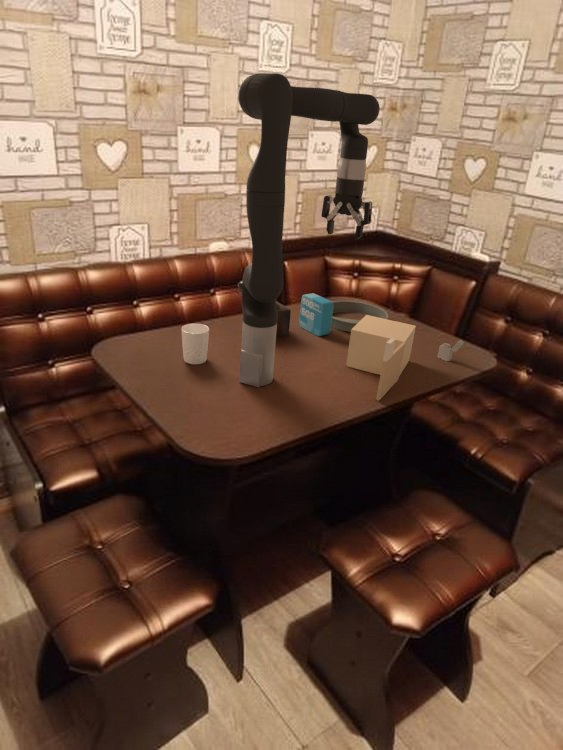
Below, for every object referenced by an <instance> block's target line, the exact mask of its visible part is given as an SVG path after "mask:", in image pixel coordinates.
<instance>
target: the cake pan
mask: <svg viewBox="0 0 563 750" xmlns="http://www.w3.org/2000/svg"><path fill="white" fill-rule="evenodd" d="M331 302H332V303H333V314H336V313H354V314H359V315H364V316H366V315H370V316H374V317H379V318H383V319H388V320H389V318H390V317H389V316H390V315H389V313H388V312H387V311H386V310H385V309H383V308H382V307H379V306H378V305H374V304H372V303H371V304H370V303H368V302H362V301H355V300H334V301H333V300H332V301H331ZM360 320H361V319H352V318H344V317H338V316H334V315H332V322H331V328H334V329H337V330H339V331H344V332H347V333H348V332H349V333H351V329H352V328H353V327H354V326H355V325H356V324H357V323H358V322H359V321H360Z"/></svg>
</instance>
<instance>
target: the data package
mask: <svg viewBox="0 0 563 750" xmlns="http://www.w3.org/2000/svg"><path fill="white" fill-rule="evenodd" d="M332 302H333V301H331V300H329V299H326V298H325V297H323V296H320V295H318V294H316V293H313V292H312V293H306V294H303V295H302V296H301V301H300V308H299V309H300V311H299V318H298V319H299V320H298V321H299V322H298V323H299V327H300V328H302V329H304V330H306V331H307V332H309V333H311V334H313V335H315V336H316V337H322V336H325V335H330V333H331V329H332V326H331V322H332V316H333V314H334V313H333V303H332Z"/></svg>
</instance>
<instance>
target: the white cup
mask: <svg viewBox="0 0 563 750" xmlns="http://www.w3.org/2000/svg"><path fill="white" fill-rule="evenodd" d="M209 334H210V327H208V325H205V324H203V323H187V324H185V325H182V327H181V342H182V343H181V345H182V354H183V356H182V357H183V360H184V362H185V363H186V364H189V365H190V364H191V365H201V364H204V363H206V361H207V359H208V349H209V348H208V346H209V337H210V336H209Z"/></svg>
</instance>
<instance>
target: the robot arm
mask: <svg viewBox="0 0 563 750" xmlns="http://www.w3.org/2000/svg"><path fill="white" fill-rule="evenodd" d="M237 95H238V104H239V106H240V108H241V110H242V111H243V112H244V114H245V115H247V116H248V117H250V118H253V119H254V120H259V121H261V131H260V133H261V134H260V145H259V148H258V152H257V154H256V157H255V159H254V161H253V163H252V165H251V167H250V170H249V174H248V177H247V179H246V192H245V193H246V195H245V196H246V202H245V205H246V216H247V223H248V224H247V225H248V227H249V229H248V230H249V233H250V239H251V240H250V241H251V248H252V249H251V250H252V253H251V256H252V258H251V262H250V263H248V265H246V266H245V269H244V272H243V274H242V280H241V281H242V291H241V292H242V295H241V311H242V330H241V351H240V358H239V359H240V360H239V377H238V379H239V380H238V381H239V383H242V384H246V385H248V386H253V387H255V388H260V387H262V386H267V385H269V384H271V383H272V382H273V379H274V378H273V377H274V367H275V353H276V343H277V338H276V331H277V319H278V313H277V309H276V301H277V299H278V298H279V297H280V295H281V293H282V291H283V288H284V272H283V271H284V270H283V258H282V257H283V256H282V255H283V254H282V253H283V252H282V251H283V250H282V246H283V245H282V244H283V236H284V235H283V233H284V222H285V221H284V217H285V205H286V203H285V202H286V175H287V174H286V173H287V172H286V171H287V169H286V168H287V156H288V155H287V153H288V143H289V142H288V141H289V134H290V128H291V127H290V126H291V119H292V116H293V117H299V118H305V119H310V120H315V121H323V122H332V123H335V122H337V123H338V122H339V128H340V130H339V131H340V136H341V137H340V138H341V146H340V154H339V156H340V157H339V162H338V165H337V171H336V182H335V183H336V184H335V192H334V193H335V194H334V196H332V195H331V194H328V195H325V196H324V197H323V201H322V202H323V203H322V207H321V215H320V216H321V218H324V219H326V221H327V222H326V232H327V234H328V235H333V233H334V230H335V229H334V227H335V218H336V217H337V216H338V215H345V216H349V217H350V216H351V217H352V218H353V220H354V221H355V223H356V224H357V225H356V226H355V235H354V240H360V239H361V238H362V236H363V231H364V227H365V226H367V225H369V224H371V222H372V213H373V202H372V201H363V193H364V185H365V178H366V169H367V156H368V148H369V139H368V137H367V136H365V135H364V134H362V133H361V132H360V128H359V125H361V126H367V125H370V124H372V123H374V122H375V120H377V118H378V117H379V115H380V103H379V101H378V100H377V99H378V98H376V97H375V96H374V95H372V94H367V93H354V92H353V93H352V92H347V91H346V92H345V91H341V90H338V89H331V88H323V87H309V86H308V87H307V86H302V87H301V86H293V85H291V83H290V80H289V79H288V78H287V77H286V75H283V74H281V73H274V72H273V73H270V72H269V73H266V72H264V73H262V72H261V73H255V74H251V75H249V76H247V77H246V78H245V79H243V81H242V82H241V84H240V86H239V89H238V94H237ZM331 204H334V206H335V207H334V208H333V209H332V210H330V209H331ZM361 208H362V209H363V212H364V213H363V214H362V213H361V210H360V209H361ZM330 211H331V212H330Z"/></svg>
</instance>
